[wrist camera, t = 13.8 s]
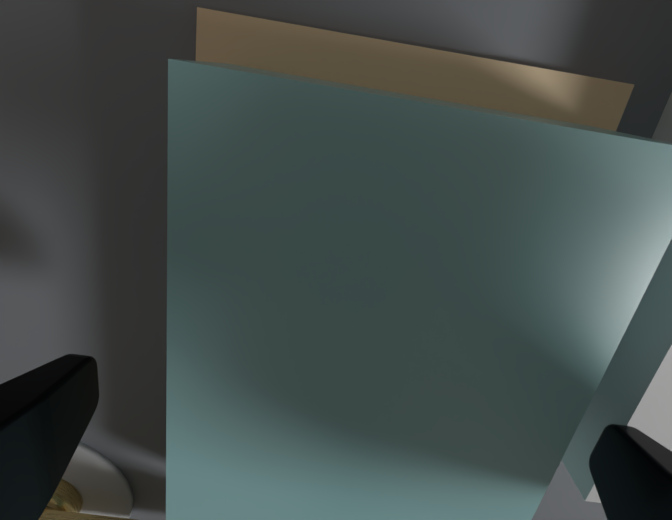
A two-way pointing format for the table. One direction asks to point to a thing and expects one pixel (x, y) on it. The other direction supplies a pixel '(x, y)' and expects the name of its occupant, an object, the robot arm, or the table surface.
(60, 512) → the yellow rectangular block
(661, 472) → the robot arm
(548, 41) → the panel
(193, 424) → the cover
